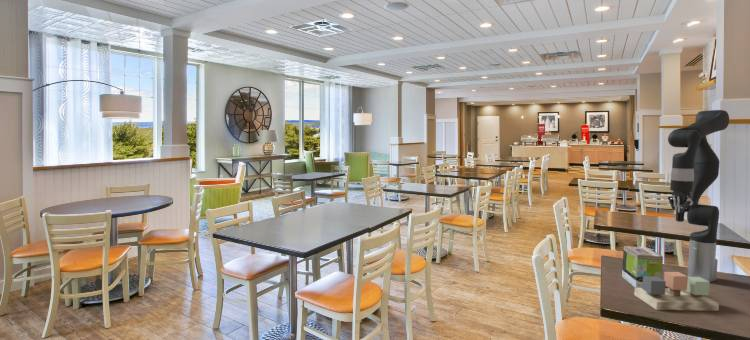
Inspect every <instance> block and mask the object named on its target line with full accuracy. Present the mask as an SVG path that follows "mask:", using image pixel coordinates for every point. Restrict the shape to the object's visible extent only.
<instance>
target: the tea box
mask: <svg viewBox="0 0 750 340" xmlns="http://www.w3.org/2000/svg"><path fill="white" fill-rule="evenodd" d="M622 254H623V255H622V273H621V277H622V278H623V279H624V280H625V281H626V282H628V283H629V284H630V285H631V286H632V287H634V289H635V288H643V276H657V277H659V278H661V279H662V278H663V276H662V275H663V263H664V256H663V255H661V254H660V253H658V252H656V251H655V250H653V249H651V248H649V247H647V246H646V247H645V246H634V245H633V246H632V245H631V246H630V245H624V246H623V253H622Z"/></svg>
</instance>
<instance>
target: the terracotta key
mask: <svg viewBox="0 0 750 340" xmlns="http://www.w3.org/2000/svg"><path fill="white" fill-rule="evenodd" d="M663 280H664V281H666V285H665V287H666V288H671V289H672V290H687V284H688V275H685V274H683V273H682V272H679V271H664V274H663Z"/></svg>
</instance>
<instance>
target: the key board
mask: <svg viewBox="0 0 750 340" xmlns="http://www.w3.org/2000/svg"><path fill="white" fill-rule="evenodd" d="M634 296H635V297H637V298H638V299H640V300H641V301H643V302H644V303H646V304H647V305H648V306H650V307H652V308H653V309H655V310H657V311H660V310H661V311H707V312H708V311H714V312H715V311H717V312H718V311H719V308H720V303H719V301H717V300H716V299H712V298H711V297H708V295H694V294H692V293H690V292H688V291H686V290H672V289H671V288H669V287H665V295H662V294H649V293H648V292H646V291H645V290H643V288H635V287H634Z"/></svg>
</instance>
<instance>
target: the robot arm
mask: <svg viewBox="0 0 750 340" xmlns="http://www.w3.org/2000/svg"><path fill="white" fill-rule="evenodd" d="M729 123H730V115H729V113H728V112H727V111H726V110H724V109H712V110H700V111H699V112H697V114H696V116H695V120H694V122H693V123H691V124H689V125H688V126H686V127H681V128H680V127H679V128H675V129H673V130H672V131H670V133H669V134H668V137H667V142H668V144H669V145H670V146H671V147H672V148H673V147H674V148H687V149H686V150H685V151H684V152H679V153H674V154H673V156H672V165H671V172H670V183H669V184H670V186H669V187H670V188H669V189H670V191H671V193H672V194H671V196H667V199H668V201H669V202H668V203H669V204H670V208H671V209H672V210H674V212H675V221H676V222H679V223H683V222H684V221H685V214H686V220H687V223H688V224H690V225H695V226H703V227H707V228H706V229H704V230H699V231H693V232H691V233H690V235H689V249H688V264H687V276H688V277H701V278H703V279H705V280H707V281H709V282H710V283H711V282H714V281H715V282H716V281H717V276H718V274H717V273H718V263H719V262H718V259H717V258H716V256H717V255H716V254H717V253H716V252H717V239H718V238H717V236H718V226H719V220H720V209H719V207H718V206H717V205H708V204H699V201H700V198H701V197H702V195H703V194H704V193H705V191H706V190H708V188H710V186H712V184H713V183H714V182H715V181H716V180H717V179H718V178H719V174H720V173H719V171H720V159H719V157H718V155H717V154H716V153H715V151H714V150H713V148H712V147H711V145H710V144H709V142H708V139H707V136H709V135H712V134H715V133H716V132H721V131H723V130H726V129H727V128H728V127H729V125H730V124H729Z"/></svg>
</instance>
